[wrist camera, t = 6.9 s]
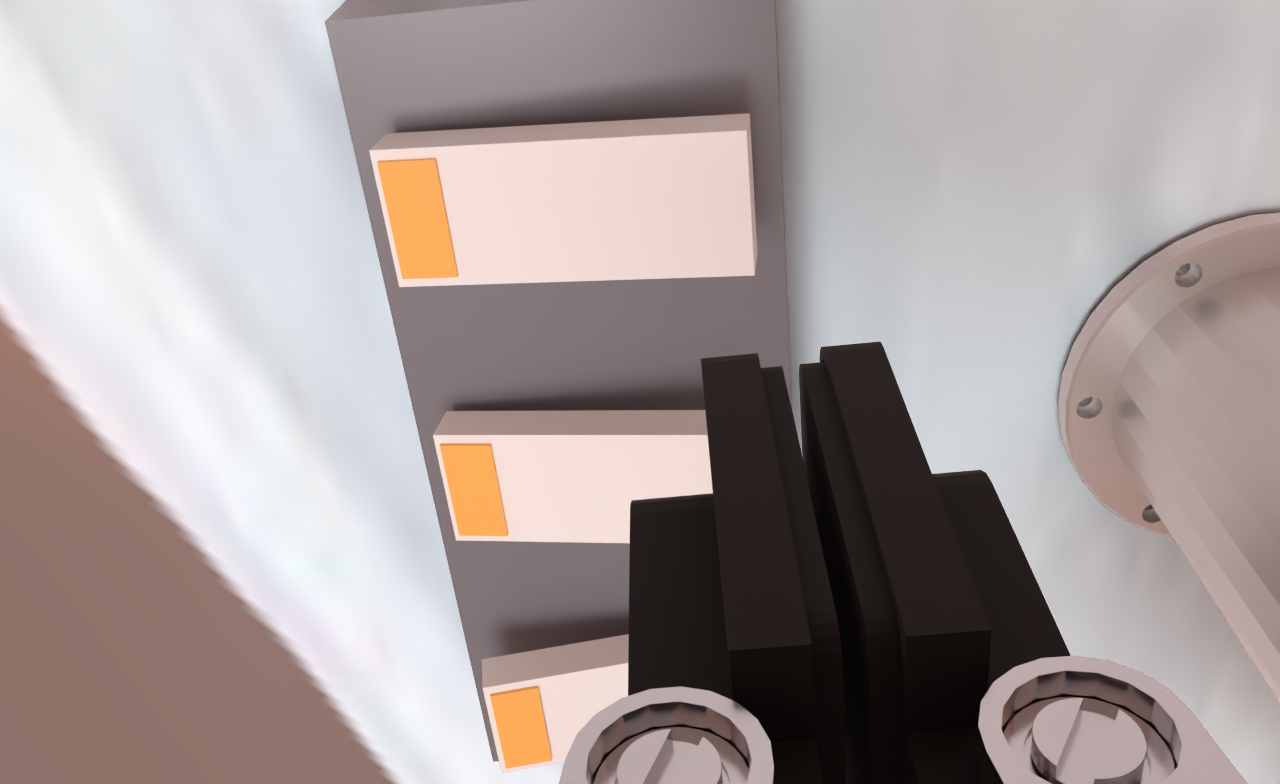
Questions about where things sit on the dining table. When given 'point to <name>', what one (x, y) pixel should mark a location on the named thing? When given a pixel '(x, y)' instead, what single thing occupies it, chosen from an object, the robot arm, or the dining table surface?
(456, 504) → the rocker middle
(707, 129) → the rocker near
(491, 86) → the grey switch panel
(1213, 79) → the dining table surface
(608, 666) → the rocker far
